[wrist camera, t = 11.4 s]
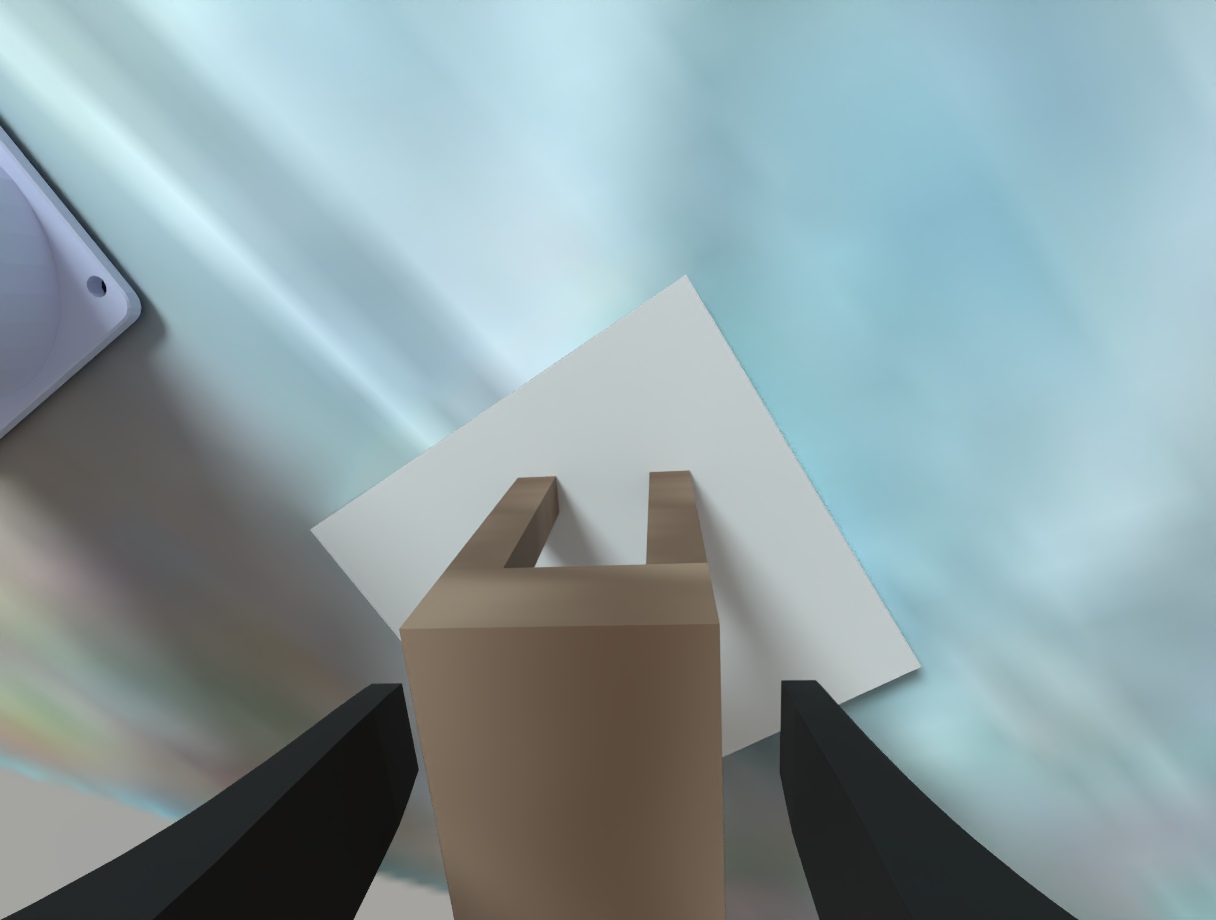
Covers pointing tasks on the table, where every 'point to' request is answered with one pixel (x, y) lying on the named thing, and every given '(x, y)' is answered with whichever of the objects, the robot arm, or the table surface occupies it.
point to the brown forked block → (574, 719)
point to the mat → (646, 507)
